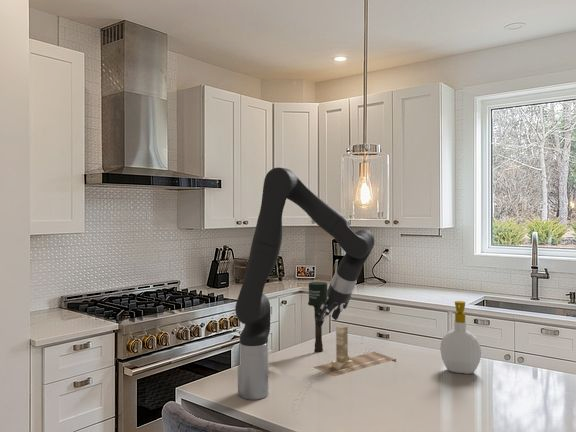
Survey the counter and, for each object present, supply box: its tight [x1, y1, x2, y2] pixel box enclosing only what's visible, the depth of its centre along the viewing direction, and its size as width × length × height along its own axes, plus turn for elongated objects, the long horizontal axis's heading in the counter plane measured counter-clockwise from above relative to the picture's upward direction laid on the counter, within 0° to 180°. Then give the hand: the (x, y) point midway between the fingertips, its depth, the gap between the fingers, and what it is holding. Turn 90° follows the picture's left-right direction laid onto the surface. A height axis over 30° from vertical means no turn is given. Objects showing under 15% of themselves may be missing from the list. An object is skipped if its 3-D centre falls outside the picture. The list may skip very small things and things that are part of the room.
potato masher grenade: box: [307, 281, 328, 354], centre depth 200 cm, size 8×9×30 cm
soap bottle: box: [439, 300, 482, 375], centre depth 176 cm, size 14×9×26 cm, turn 66°
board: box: [313, 351, 397, 377], centre depth 183 cm, size 32×12×2 cm, turn 125°
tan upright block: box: [331, 325, 353, 370], centre depth 179 cm, size 7×4×15 cm, turn 125°
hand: (326, 322), depth 161 cm, fingers open, 8 cm apart
